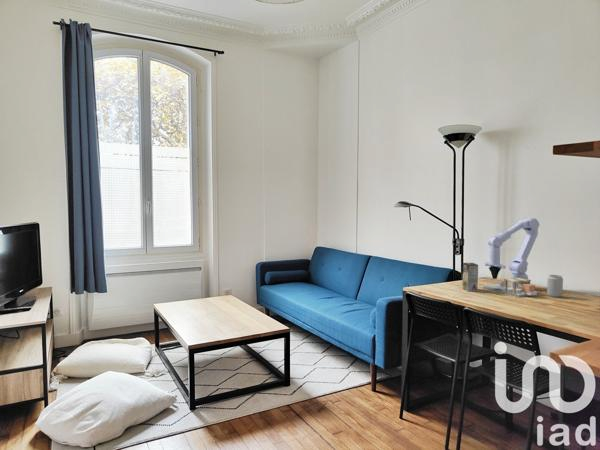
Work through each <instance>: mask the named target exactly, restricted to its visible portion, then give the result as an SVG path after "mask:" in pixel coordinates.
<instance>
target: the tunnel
mask: <svg viewBox="0 0 600 450" xmlns="http://www.w3.org/2000/svg"><path fill="white" fill-rule="evenodd" d="M503 281H504V291H507V286H508V282H509V283H511V282H513V291H512V293H516V282H518V288H519V289H523V284H531V279H529V278H528V279H523V278H513V279H511V278H504V279H503Z"/></svg>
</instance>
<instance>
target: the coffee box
mask: <svg viewBox="0 0 600 450" xmlns="http://www.w3.org/2000/svg"><path fill="white" fill-rule="evenodd" d="M478 283H479V264H477V263H474V262H462V287H461V288H462V289H463V290H465V291H467V292H478V287H479V285H478Z"/></svg>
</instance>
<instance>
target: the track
mask: <svg viewBox="0 0 600 450" xmlns="http://www.w3.org/2000/svg"><path fill="white" fill-rule="evenodd" d="M510 286H511V285H507V287H510ZM511 288H513V287H511ZM482 289H484V290H487V291H488V290H489V291H492V292H496V293H501V294H505V295H509V296H513V297H517V298H524V297H533V296H539V293H538V292H537V295H527V294H525V292H521V291H517V290H516V293H512V291H513V290H512V289H508V288H507V291H504V288H503V287H499V283H494V284H489V283H487V284H486V285H485V286H484V285H483V286H482ZM516 289H519V288H516ZM520 290H522V289H520Z"/></svg>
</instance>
